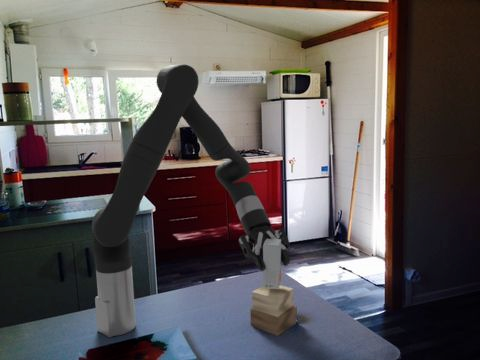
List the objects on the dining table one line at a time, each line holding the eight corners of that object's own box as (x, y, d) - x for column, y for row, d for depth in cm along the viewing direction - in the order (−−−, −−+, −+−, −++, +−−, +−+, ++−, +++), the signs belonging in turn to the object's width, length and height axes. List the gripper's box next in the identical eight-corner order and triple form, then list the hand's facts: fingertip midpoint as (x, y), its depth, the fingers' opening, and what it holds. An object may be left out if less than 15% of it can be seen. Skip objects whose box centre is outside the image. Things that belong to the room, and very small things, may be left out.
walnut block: (277, 336, 107) (277, 318, 106) (250, 325, 113) (250, 308, 112) (297, 323, 113) (296, 306, 113) (271, 314, 119) (270, 297, 119)
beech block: (277, 317, 107) (277, 299, 106) (252, 309, 112) (252, 291, 111) (293, 306, 113) (293, 288, 112) (269, 298, 118) (268, 282, 117)
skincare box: (279, 289, 108) (278, 245, 106) (263, 288, 109) (262, 244, 107) (281, 280, 114) (281, 238, 112) (266, 280, 115) (265, 238, 113)
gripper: (234, 211, 111) (257, 265, 103) (278, 204, 118) (303, 255, 110) (226, 226, 117) (247, 279, 108) (269, 219, 124) (292, 268, 115)
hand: (275, 267), depth 109 cm, fingers closed on skincare box, 7 cm apart
